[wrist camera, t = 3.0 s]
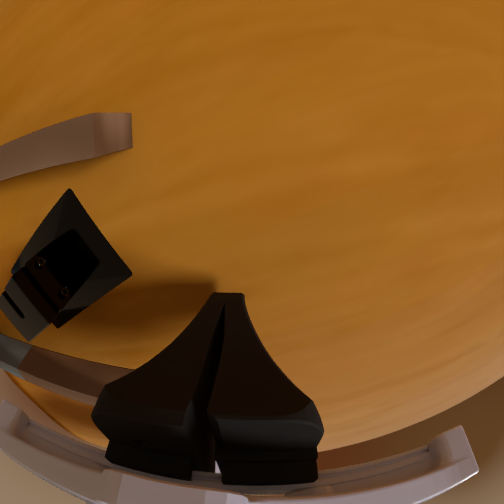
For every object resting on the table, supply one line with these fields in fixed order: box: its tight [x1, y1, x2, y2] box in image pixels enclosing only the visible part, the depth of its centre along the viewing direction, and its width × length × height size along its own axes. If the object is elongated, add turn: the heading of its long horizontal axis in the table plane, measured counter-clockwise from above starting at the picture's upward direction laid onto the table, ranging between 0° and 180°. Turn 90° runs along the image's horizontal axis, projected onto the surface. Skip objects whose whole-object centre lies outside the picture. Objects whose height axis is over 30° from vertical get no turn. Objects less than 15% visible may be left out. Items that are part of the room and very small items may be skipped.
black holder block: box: [0, 189, 132, 342], centre depth 11 cm, size 12×7×5 cm, turn 122°
